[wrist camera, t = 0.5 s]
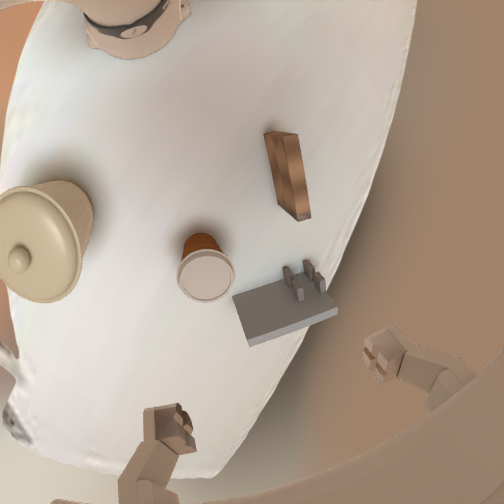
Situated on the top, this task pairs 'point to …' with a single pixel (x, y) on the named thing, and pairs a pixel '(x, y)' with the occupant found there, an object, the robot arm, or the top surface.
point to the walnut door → (288, 173)
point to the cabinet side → (284, 305)
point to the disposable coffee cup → (204, 270)
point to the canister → (43, 239)
